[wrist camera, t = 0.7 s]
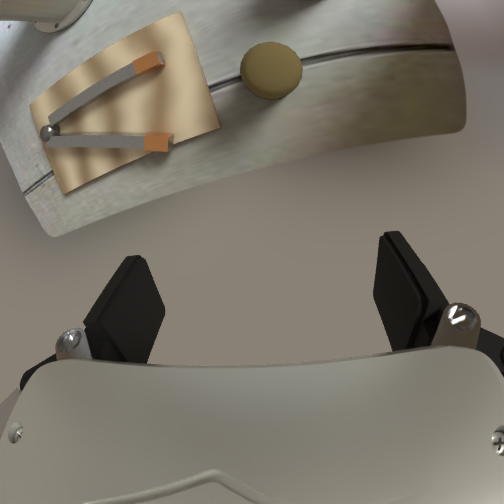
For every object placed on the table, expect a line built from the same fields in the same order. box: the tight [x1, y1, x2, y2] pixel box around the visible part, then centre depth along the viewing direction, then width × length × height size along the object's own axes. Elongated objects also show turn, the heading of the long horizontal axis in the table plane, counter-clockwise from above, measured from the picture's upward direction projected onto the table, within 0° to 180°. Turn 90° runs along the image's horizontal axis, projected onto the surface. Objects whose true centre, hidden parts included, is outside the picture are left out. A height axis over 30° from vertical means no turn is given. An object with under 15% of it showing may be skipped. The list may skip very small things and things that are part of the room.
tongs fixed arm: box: [48, 50, 166, 126], centre depth 27 cm, size 18×2×2 cm, turn 107°
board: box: [29, 12, 222, 194], centre depth 30 cm, size 26×16×1 cm, turn 107°
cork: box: [240, 42, 303, 100], centre depth 24 cm, size 6×6×11 cm
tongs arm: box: [40, 124, 174, 152], centre depth 30 cm, size 20×3×2 cm, turn 82°
